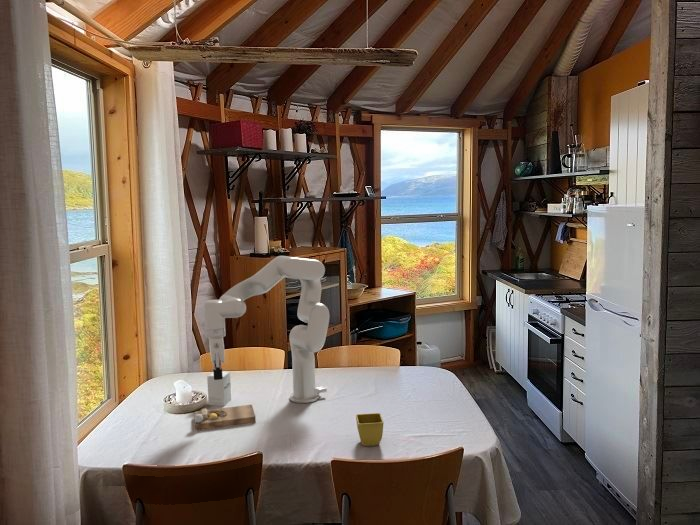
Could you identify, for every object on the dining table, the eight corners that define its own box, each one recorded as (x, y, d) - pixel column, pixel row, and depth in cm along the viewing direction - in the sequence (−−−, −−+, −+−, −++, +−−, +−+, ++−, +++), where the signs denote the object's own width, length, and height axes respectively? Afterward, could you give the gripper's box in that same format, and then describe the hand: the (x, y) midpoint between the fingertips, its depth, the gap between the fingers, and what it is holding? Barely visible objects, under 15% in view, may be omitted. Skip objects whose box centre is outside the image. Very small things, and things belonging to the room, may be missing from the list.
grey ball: (203, 420, 204) (202, 412, 204) (203, 423, 201) (202, 415, 201) (194, 421, 203) (193, 413, 203) (194, 424, 200) (194, 416, 200)
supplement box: (224, 406, 225) (223, 376, 223) (208, 405, 226) (206, 376, 225) (231, 399, 232) (230, 371, 230) (215, 398, 233) (214, 370, 232)
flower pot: (356, 438, 192) (355, 413, 191) (380, 436, 192) (380, 412, 191) (358, 449, 183) (358, 424, 182) (384, 448, 184) (383, 422, 183)
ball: (218, 422, 209) (218, 414, 211) (216, 418, 207) (216, 410, 209) (210, 423, 209) (210, 416, 211) (207, 420, 207) (208, 412, 209)
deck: (252, 410, 219) (251, 399, 219) (255, 422, 207) (255, 411, 206) (195, 417, 213) (195, 406, 213) (195, 430, 201) (195, 419, 200)
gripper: (226, 336, 199) (229, 384, 202) (224, 327, 214) (227, 372, 216) (205, 338, 197) (208, 386, 200) (204, 328, 212) (207, 374, 214)
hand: (218, 378), depth 208 cm, fingers closed
